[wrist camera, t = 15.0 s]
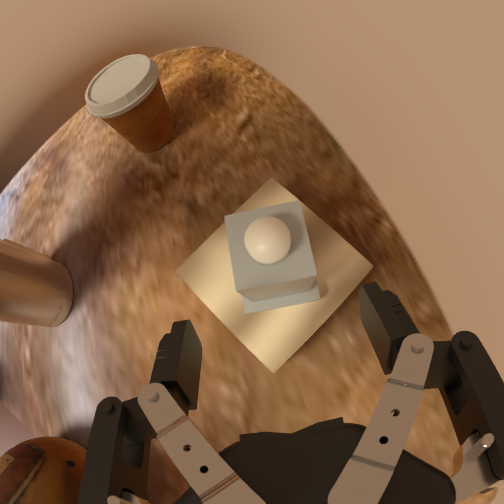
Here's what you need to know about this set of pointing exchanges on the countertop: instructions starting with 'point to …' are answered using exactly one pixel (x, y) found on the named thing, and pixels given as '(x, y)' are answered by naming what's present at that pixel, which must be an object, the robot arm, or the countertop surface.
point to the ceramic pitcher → (42, 472)
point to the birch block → (282, 319)
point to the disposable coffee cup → (132, 102)
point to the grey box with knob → (271, 257)
